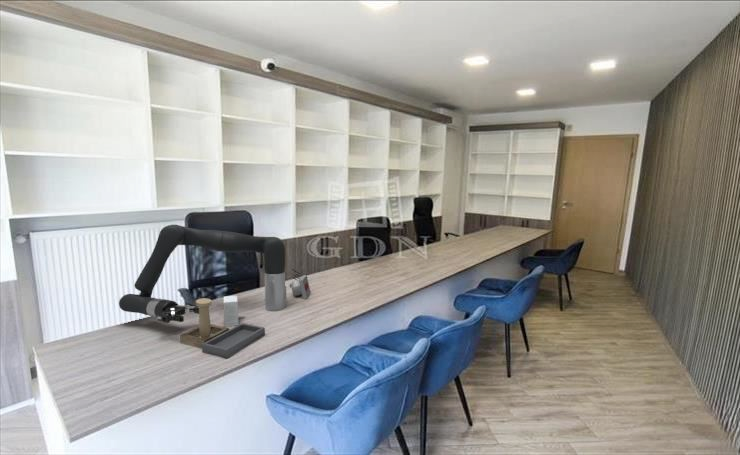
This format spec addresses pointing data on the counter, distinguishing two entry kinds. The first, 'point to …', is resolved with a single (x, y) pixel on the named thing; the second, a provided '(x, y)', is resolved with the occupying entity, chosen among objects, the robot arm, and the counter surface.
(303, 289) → the voltmeter
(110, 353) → the counter surface
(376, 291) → the counter surface
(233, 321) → the small box
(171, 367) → the counter surface
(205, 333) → the handle
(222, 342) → the tray
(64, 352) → the counter surface
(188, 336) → the socket collar
